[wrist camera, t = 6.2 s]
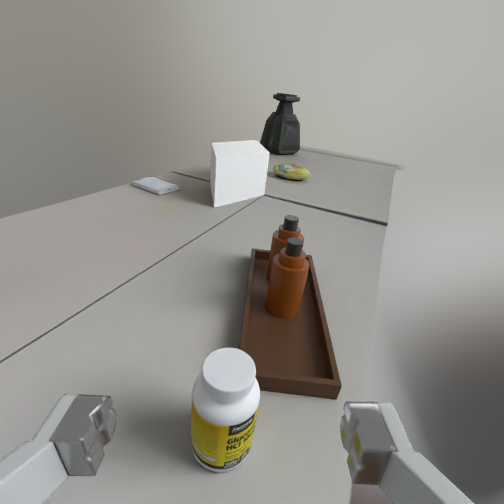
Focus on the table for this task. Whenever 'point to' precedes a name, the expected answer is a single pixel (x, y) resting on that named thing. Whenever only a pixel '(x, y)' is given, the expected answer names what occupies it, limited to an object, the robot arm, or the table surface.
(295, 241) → the amber bottle middle
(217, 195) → the box
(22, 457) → the robot arm
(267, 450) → the table surface
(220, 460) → the pill bottle
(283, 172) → the cell model
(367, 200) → the table surface
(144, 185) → the hard drive
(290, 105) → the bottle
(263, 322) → the tray
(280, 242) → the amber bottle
